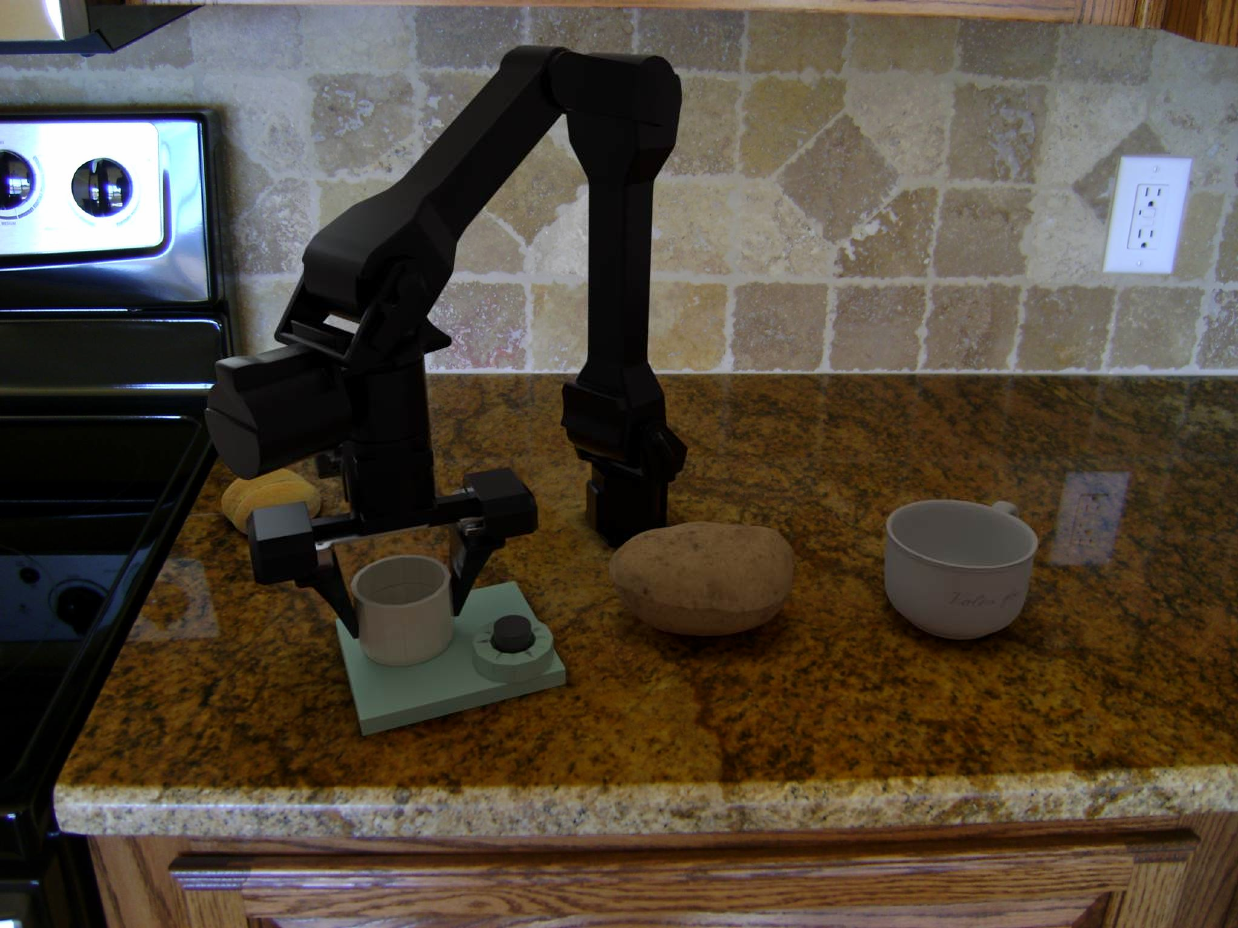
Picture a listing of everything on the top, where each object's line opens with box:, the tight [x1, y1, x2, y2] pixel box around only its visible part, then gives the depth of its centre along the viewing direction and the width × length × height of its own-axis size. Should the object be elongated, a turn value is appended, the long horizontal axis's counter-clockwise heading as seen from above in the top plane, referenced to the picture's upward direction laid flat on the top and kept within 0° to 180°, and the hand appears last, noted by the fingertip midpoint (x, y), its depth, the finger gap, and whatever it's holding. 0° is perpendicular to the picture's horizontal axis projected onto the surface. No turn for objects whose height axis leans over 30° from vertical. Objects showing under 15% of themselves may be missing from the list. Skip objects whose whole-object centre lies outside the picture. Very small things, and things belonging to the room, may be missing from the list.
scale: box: [335, 580, 567, 737], centre depth 67 cm, size 14×12×3 cm
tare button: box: [493, 615, 532, 654], centre depth 65 cm, size 3×3×2 cm
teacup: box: [883, 499, 1039, 641], centre depth 72 cm, size 14×11×8 cm
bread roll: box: [221, 468, 322, 535], centre depth 86 cm, size 8×9×4 cm
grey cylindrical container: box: [350, 554, 455, 666], centre depth 67 cm, size 7×7×5 cm
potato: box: [608, 520, 796, 637], centre depth 70 cm, size 10×14×8 cm
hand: (406, 624), depth 67 cm, fingers closed on grey cylindrical container, 7 cm apart
